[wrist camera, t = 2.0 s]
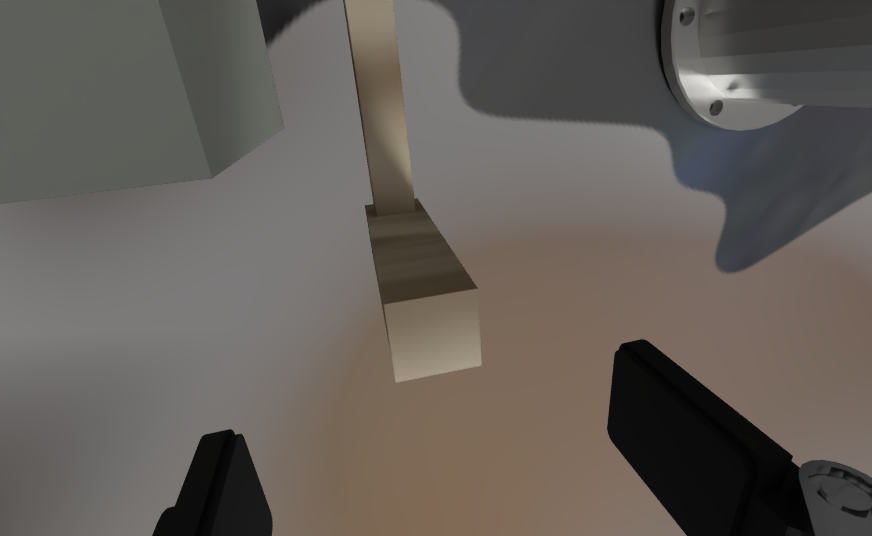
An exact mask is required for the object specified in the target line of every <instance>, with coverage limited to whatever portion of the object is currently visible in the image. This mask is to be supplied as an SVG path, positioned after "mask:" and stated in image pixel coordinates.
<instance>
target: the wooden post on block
mask: <svg viewBox="0 0 872 536" xmlns="http://www.w3.org/2000/svg"><path fill="white" fill-rule="evenodd" d="M343 2H344V8H345V15H346V22H347V29H348V35H349V42H350V49H351V55H352V62H353V69H354V75H355V82H356V89H357V95H358V102H359V108H360V115H361V122H362V129H363V134H364V135H363V136H364V142H365V149H366V156H367V162H368V169H369V175H370V182H371V189H372V196H373V202H374V204H373V205H365V209H366V215H367V221H368V227H369V234H370V241H371V246H372V253H373V259H374V264H375V270H376V275H377V281H378V287H379V292H380V297H381V303H382V309H383V314H384V320H385V325H386V331H387V336H388V342H389V347H390V353H391V358H392V364H393V370H394V375H395V380H396V382H401V381H406V380H411V379H416V378H421V377H426V376H431V375H436V374H441V373H446V372H451V371H456V370H461V369H466V368H471V367H476V366H481V365H482V364H481V343H480V323H479V303H478V288H477V287H476V285H475V284H474V282H473V281H472V279H471V278H470V276H469V275H468V273H467V272H466V270H465V269H464V267H463V266H462V264H461V263H460V261H459V260H458V258H457V257H456V255H455V254H454V252H453V251H452V250H451V248H450V246H449V245H448V243H447V242H446V240H445V239H444V237H443V236H442V235H441V233H440V231H439V230H438V228H437V227H436V226H435V224H434V223H433V221H432V220H431V218H430V217H429V215H428V214H427V212H426V211H425V209H424V208H423V206H422V205H421V203H420V202H419V200H418V199H414V192H413V184H412V175H411V165H410V156H409V147H408V137H407V128H406V119H405V110H404V101H403V91H402V82H401V73H400V64H399V55H398V45H397V36H396V27H395V18H394V9H393V0H343Z"/></svg>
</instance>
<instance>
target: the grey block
mask: <svg viewBox="0 0 872 536" xmlns="http://www.w3.org/2000/svg"><path fill="white" fill-rule="evenodd" d="M283 128H284V125H283V120H282V116H281V111H280V107H279V102H278V98H277V93H276V89H275V84H274V80H273V75H272V71H271V66H270V62H269V57H268V53H267V48H266V44H265V39H264V35H263V30H262V26H261V21H260V17H259V12H258V8H257V3H256V0H0V204H2V203H10V202H19V201H27V200H35V199H44V198H52V197H60V196H69V195H77V194H85V193H94V192H101V191H111V190H119V189H127V188H135V187H144V186H152V185H161V184H169V183H177V182H185V181H194V180H201V179H210V178H213V177H215V176H216V175H218V174H219V173H220V172H221V171H223V170H225V169H226V168H227V167H229V166H230V165H232V164H233V163H234V162H236V161H237V160H239V159H240V158H241V157H243V156H244V155H246V154H247V153H249V152H250V151H252V150H253V149H254V148H256V147H257V146H259V145H260V144H262V143H263V142H265V141H266V140H267V139H269V138H270V137H272V136H273V135H275V134H276V133H277V132H279V131H280V130H281V129H283Z"/></svg>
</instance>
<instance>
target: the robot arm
mask: <svg viewBox="0 0 872 536" xmlns="http://www.w3.org/2000/svg"><path fill="white" fill-rule="evenodd" d="M661 53H662V59H663V65H664V72H665V75H666V77H667V80H668V83H669V86H670V88H671V91H672V93H673V94H674V96H675V97H676V99H677V101H678V102H679V104H680V105H681V107H682V108H683V109H684V110H686V111H687V112H688V113H689V114H690V115H691V116H692V117H693V118H694V119H696V120H698V121H700V122H702V123H704V124H705V125H707V126H712V127H716V128H720V129H727V130H739V131H744V130H752V129H759V128H762V127H765V126H768V125H771V124H774V123H776V122H778V121H780V120H782V119H784V118H786V117H787V116H789V115H791V114H793V113H794V112H796V111H797V110H798V109H800V108H801V107H802V106H803V105H819V106H844V107H870V108H872V0H665V4H664V11H663V17H662V24H661ZM607 430H608V434H609V437H610V439H611V441H612V442H613V444H614V445H615V446H616V447H617V449H618V450H619V451H620V452H621V454H622V455H623V456H624V457H625V459H626V460H627V461H628V462H629V464H630V465H631V466H632V467H633V469H634V470H635V471H636V472H637V474H638V475H639V476H640V477H641V479H642V480H643V481H644V482H645V484H646V485H647V486H648V487H649V489H650V490H651V491H652V492H653V494H654V495H655V496H656V497H657V499H658V500H659V501H660V502H661V504H662V505H663V506H664V507H665V509H666V510H667V511H668V513H669V514H670V515H671V516H672V518H673V519H674V520H675V521H676V523H677V524H678V525H679V526H680V527H681V529H682V530H683V531H684V533H685V534H686V535H687V536H872V478H871V477H869V476H868V475H866V474H864V473H862V472H860V471H858V470H856V469H854V468H852V467H849V466H846V465H843V464H840V463H837V462H831V461H825V460H813V461H809V462H806V463H804V464H802V466H801V467H800V468H799V467H798V466H797V465H796V464H794V463H793V462H792V461H791V460H792V457H793V456H792V455H791V454H790V453H788V452H787V451H786V450H785V449H783V448H782V447H781V446H780V445H778V444H777V443H776V442H775V441H773V440H772V439H771V438H769V437H768V436H767V435H766V434H764V433H763V432H762V431H761V430H759V429H758V428H757V427H756V426H754V425H753V424H752V423H750V422H749V421H748V420H747V419H746V418H744V417H743V416H742V415H740V414H739V413H738V412H737V411H735V410H734V409H733V408H732V407H730V406H729V405H728V404H727V403H725V402H724V401H723V400H722V399H720V398H719V397H718V396H716V395H715V394H714V393H713V392H711V391H710V390H709V389H708V388H706V387H705V386H704V385H703V384H701V383H700V382H699V381H697V380H696V379H695V378H693V377H692V376H691V375H690V374H689V373H687V372H686V371H685V370H684V369H682V368H681V367H680V366H679V365H677V364H676V363H675V362H673V361H672V360H671V359H670V358H668V357H667V356H666V355H665V354H663V353H662V352H661V351H659V350H658V349H657V348H656V347H654V346H653V345H652V344H651V343H649V342H648V341H646V340H642V339H641V340H637V341H632V342H627V343H623V344H621V346H620V347H619V350H618V351H616V352H615V356H614V365H613V375H612V385H611V395H610V405H609V416H608V426H607ZM152 536H272V515H271V512H270V509H269V506H268V503H267V500H266V498H265V495H264V492H263V489H262V486H261V484H260V481H259V478H258V475H257V472H256V470H255V467H254V464H253V461H252V458H251V456H250V453H249V450H248V447H247V445H246V442H245V439H244V437H243V435H242V434H237V435H235V433H234V431H233V430H230V429H229V430H225V431H220V432H215V433H211V434H206V435H204V436H202V438H201V440H200V442H199V444H198V447H197V450H196V452H195V455H194V457H193V460H192V463H191V465H190V468H189V471H188V473H187V476H186V478H185V481H184V484H183V486H182V489H181V491H180V494H179V497H178V499H177V502H176V505H175V506H174V507H170V508H167V509H166V510H165V511H164V512H163V513H162V515H161V517H160V519H159V520H158V523H157V525H156V528H155V530H154V533H153V535H152Z"/></svg>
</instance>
